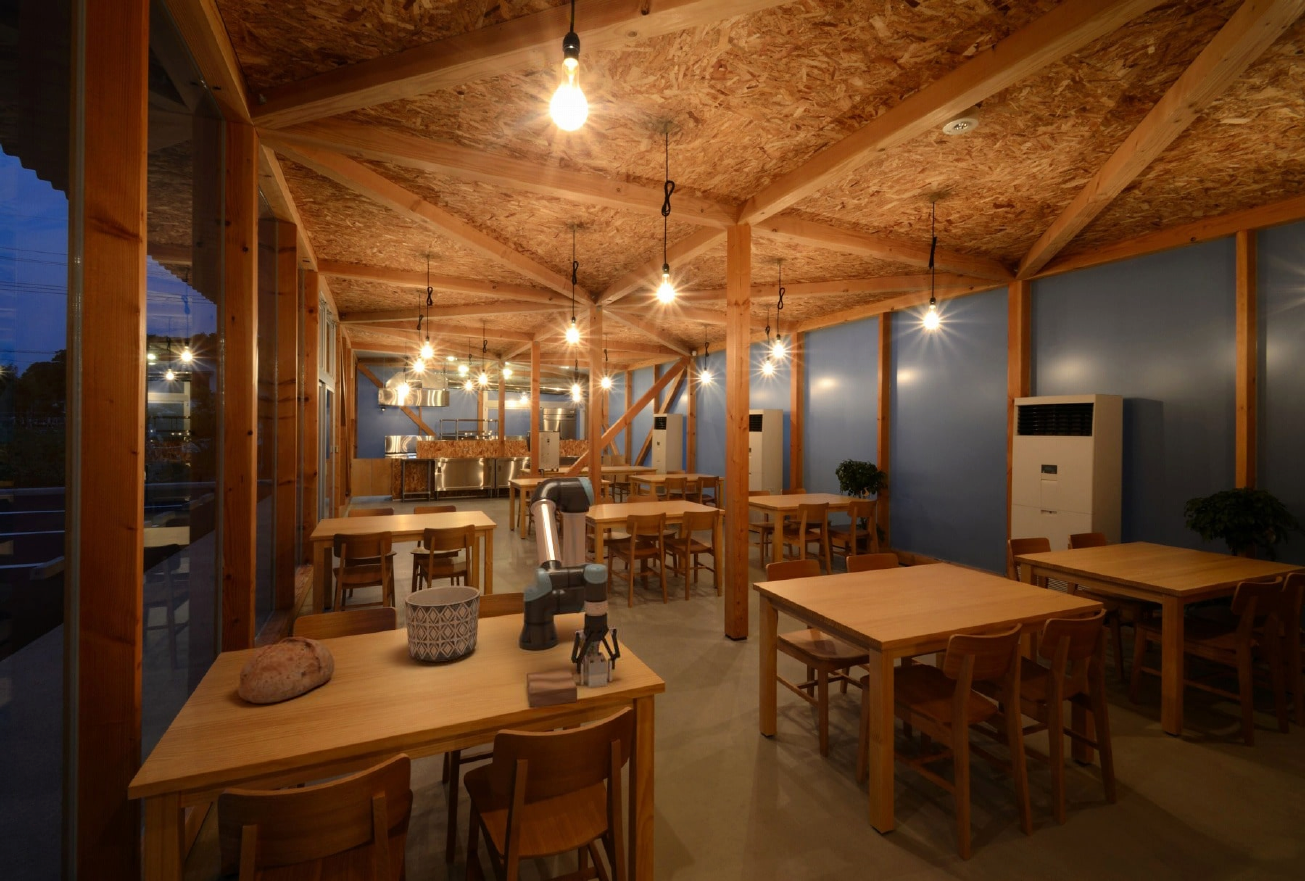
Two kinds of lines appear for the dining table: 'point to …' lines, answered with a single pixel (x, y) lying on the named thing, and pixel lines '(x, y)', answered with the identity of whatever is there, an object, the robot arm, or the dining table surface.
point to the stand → (551, 687)
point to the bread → (285, 670)
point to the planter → (442, 622)
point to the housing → (595, 670)
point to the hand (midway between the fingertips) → (595, 681)
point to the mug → (591, 649)
